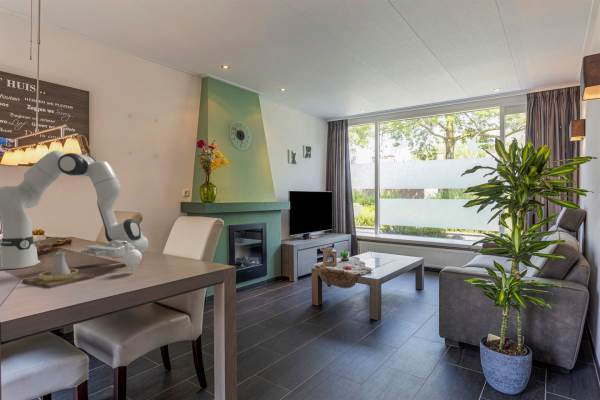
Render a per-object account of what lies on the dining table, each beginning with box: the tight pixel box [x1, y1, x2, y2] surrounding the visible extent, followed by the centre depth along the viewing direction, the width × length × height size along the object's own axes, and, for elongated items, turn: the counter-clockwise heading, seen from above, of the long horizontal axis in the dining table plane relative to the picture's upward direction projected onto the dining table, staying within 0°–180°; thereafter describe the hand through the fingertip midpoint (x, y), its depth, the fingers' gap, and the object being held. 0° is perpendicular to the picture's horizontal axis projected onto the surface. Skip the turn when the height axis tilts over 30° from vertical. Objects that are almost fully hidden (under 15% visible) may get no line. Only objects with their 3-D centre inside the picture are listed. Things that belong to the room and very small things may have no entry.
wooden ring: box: [38, 268, 80, 281], centre depth 140 cm, size 13×13×2 cm
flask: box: [50, 251, 71, 276], centre depth 140 cm, size 7×7×10 cm
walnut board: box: [22, 272, 95, 289], centre depth 140 cm, size 19×17×1 cm
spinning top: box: [122, 246, 143, 274], centre depth 151 cm, size 8×8×12 cm
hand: (88, 253), depth 151 cm, fingers open, 8 cm apart
